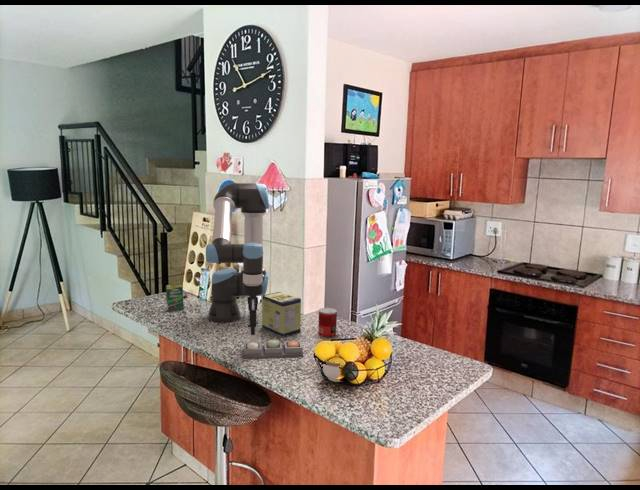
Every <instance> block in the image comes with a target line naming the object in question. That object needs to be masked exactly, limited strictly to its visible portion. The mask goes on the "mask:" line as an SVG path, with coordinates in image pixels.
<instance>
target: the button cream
mask: <svg viewBox="0 0 640 490" xmlns="http://www.w3.org/2000/svg"><path fill="white" fill-rule="evenodd" d="M248 343H249V344H247V349H257V348H258V344H257V343H258V342H248Z"/></svg>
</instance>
